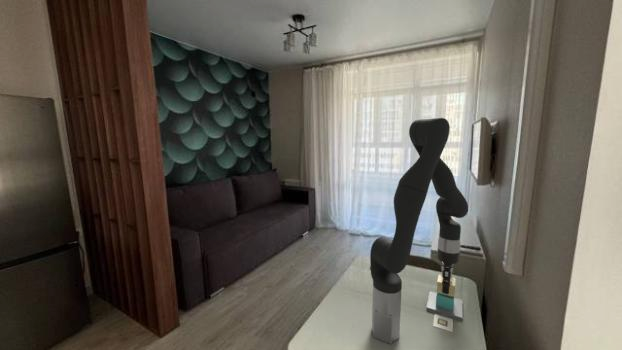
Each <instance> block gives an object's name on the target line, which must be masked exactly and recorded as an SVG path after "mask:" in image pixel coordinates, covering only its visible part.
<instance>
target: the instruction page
mask: <svg viewBox="0 0 622 350" xmlns="http://www.w3.org/2000/svg"><path fill="white" fill-rule="evenodd" d="M453 320H454V318H451V317H447V316H444V315H441V314H438V313H435V314H434V317H433V324H432V327H434V328H438V329H442V330H443V331H447V332H450V333H453V329H454V328H453V326H454V325H453V322H454V321H453Z"/></svg>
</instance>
